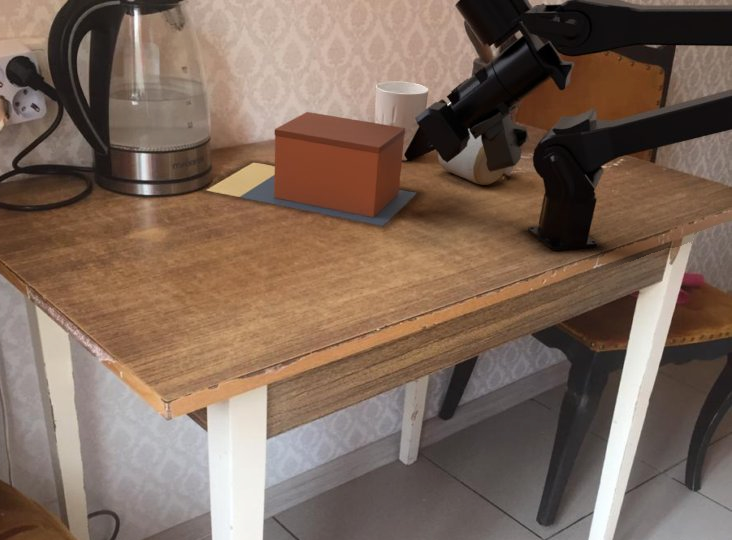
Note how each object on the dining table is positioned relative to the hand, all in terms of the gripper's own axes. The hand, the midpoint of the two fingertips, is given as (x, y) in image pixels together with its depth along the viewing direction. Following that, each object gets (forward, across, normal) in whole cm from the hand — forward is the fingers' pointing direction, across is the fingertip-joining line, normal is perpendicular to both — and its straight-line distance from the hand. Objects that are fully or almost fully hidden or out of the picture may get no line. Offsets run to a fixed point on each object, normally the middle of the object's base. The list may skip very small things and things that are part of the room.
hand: (407, 157), depth 110 cm
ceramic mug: (+1, +18, -9) cm, 20 cm away
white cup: (+11, +22, +1) cm, 25 cm away
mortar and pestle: (+3, +34, -7) cm, 35 cm away
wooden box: (+11, 0, +2) cm, 11 cm away
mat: (+14, 0, +4) cm, 14 cm away
